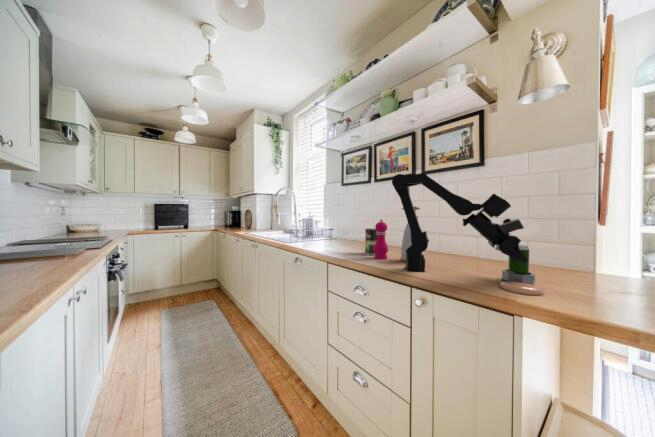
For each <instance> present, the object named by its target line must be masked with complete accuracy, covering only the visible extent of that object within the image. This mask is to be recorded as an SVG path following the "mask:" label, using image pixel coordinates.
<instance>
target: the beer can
mask: <svg viewBox="0 0 655 437" xmlns="http://www.w3.org/2000/svg"><path fill="white" fill-rule="evenodd" d="M519 249H520V250H521V252H522V253H523V255H524V256H525V257H526V259H527V260H528V262H526V263H524V262H522V261H519V260H517V259H515V258H512V257H510V256H508V264H507V269H508V272H510V273H515V274H524V275H529V272H530V247H529V246H528V245H522V244H521V245H520V244H519Z"/></svg>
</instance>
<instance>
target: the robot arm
mask: <svg viewBox="0 0 655 437" xmlns="http://www.w3.org/2000/svg"><path fill="white" fill-rule="evenodd" d="M391 184H392V186H393V189H394V190H395V192H396V193H397V195H398V196H399V199H400V201H401V204H402V208H404V210H403V212H404V214H405V216H406V217H405V218H406V221H407V223H408V224H409V227H410V231H411V243H412V245H411V246H410V247H409V248H408V249H407V250H406V253H407V254H406V262H405V266H404V268H405V269H406V270H407V271H409V272H426V258H425V254H424V255H423V254H421V253H422V252H423V251H424V252H425V251H427V248H428V247H429V242H430V239H429V238H428V232H427V230H426V231H425V230H424V231H423V229H422V227H421V224H420V222H419V218H418V219H417V216H418V215H417V213H415V210H414V207H415V206H414V205H413V201H412V198H411V194H410V187H414V186H418V185H422V186H423V187H425V188H426V189H427V190H429V191H430V192H432V193H433V194H435V195H436V196H437V197H439V198H440V199H441V200H443V201H444V202H446V204H447V205H448V206H449V207H450V208H451V209H452V210H453V211H454V212H455V213H456V214H457V215H458V216H459V215H460V216H463V217H464V216H468V215H469V216H468V217H466V218H462V226H463V227H466V226H467V225H470V226H471V227H472V228H473V229H474V230H475V231H477V233H479V235H480V236H482V237H483V238H485V240H487V241H488V242H487V244H488V245H489V246H491V248H495V249H494V250H497V251H498V252H500V253H501V254H503V255H506V256H508V257H509V256H510V257H512V258H515V259H517V260H519V261H522V262H524V263H526V262H528V260H527V259H526V257H525V256H524V255H523V253H522V252H521V250H520V249H519V245H520V243H521V242H522V240H521V239H520V238H519V237H518V236H516V235H511V232H515V231H518V230H522V229H524V228H525V227H524V225H523V223H522V222H521V220H520V219H518V218H516V219H513V220H511V219H510V218H506V219H503V220H502V223H501V224H499V223H496V222H494V221H493V220H492V219H490V218H494V217H495V219H496V218H499V217H500V216H501V215H502V214H503V213H505V212H507V210H509V209H510V208H511V207H512V205H511V204H510V202H508V200H506V199H505V198H502V197H501V196H499V195H497V194H496V193H492V194H491V195H490V196H489V197H488V199H486V200H485V201H484V202H482V204H481V203H473V202H472V201H471V200H470V199H467V198H465V197H462V196H459V194H458V195H457V194H455V193H453V192H451V191H450V190H448V189H447V188H446V187H444V186H443V185H441V184H440V183H438V182H437V181H436V180H434V179H432V178H431V177H430V176H429V175H428V174H426V173H424V172H421V173H414V174H413V173H412V174H402V173H398V174H396V175H394V176H393V178H392V180H391ZM475 211H478V212H477V213H476V214H474V213H472V212H475ZM420 227H421V228H420Z"/></svg>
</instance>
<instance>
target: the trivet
mask: <svg viewBox="0 0 655 437" xmlns="http://www.w3.org/2000/svg"><path fill="white" fill-rule="evenodd" d="M500 288H501V289H503V290H506V291H509V292H511V293H515V294H521V295H527V296H543V295H544V294H545V289H544V288H543V287H541V286H538V285H535V284H533V285H531V284H526V283H520V282H510V281H506V280H505V281H501V282H500Z"/></svg>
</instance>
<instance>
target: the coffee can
mask: <svg viewBox="0 0 655 437" xmlns="http://www.w3.org/2000/svg"><path fill="white" fill-rule="evenodd" d="M364 230H365V234H364V235H365V238H364V239H365V240H364V242H365V244H364V245H365V247H364V254H365V255H367V256H373V257H375V254H376V253H375V252H374V246H375V244H376V242H377V234H376V232H377V230H376V229H375V228H365V229H364Z"/></svg>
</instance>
